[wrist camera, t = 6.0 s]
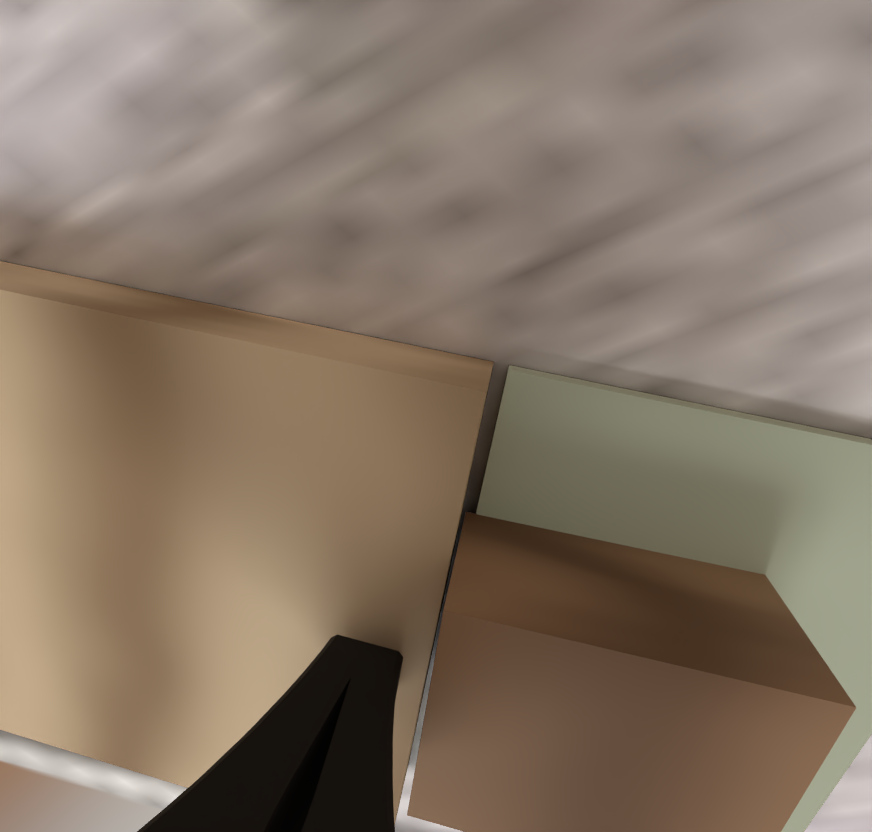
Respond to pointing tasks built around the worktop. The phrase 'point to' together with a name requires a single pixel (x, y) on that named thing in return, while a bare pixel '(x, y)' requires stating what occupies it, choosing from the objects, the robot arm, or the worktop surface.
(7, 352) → the birch board
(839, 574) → the sage mat
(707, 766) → the walnut block
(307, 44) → the worktop surface
